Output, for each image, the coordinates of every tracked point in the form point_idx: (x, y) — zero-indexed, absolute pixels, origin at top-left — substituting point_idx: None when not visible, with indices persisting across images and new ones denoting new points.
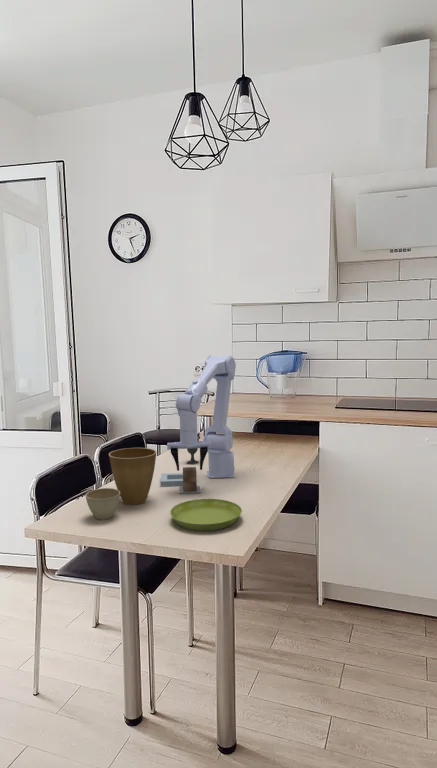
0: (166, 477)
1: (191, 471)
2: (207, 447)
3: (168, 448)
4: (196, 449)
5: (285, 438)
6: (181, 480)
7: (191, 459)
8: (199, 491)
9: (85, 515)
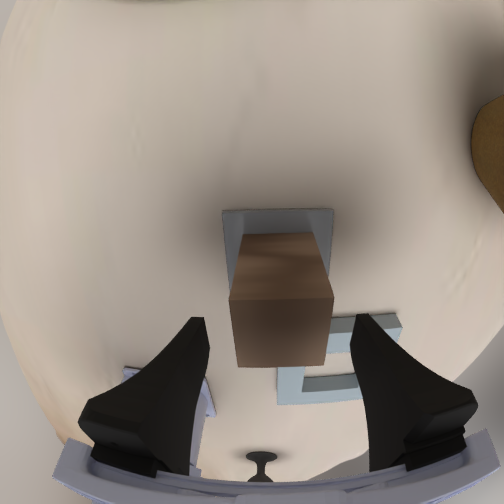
0: None
1: (267, 296)
2: (91, 453)
3: (484, 439)
4: None
5: None
6: None
7: (264, 463)
8: (228, 223)
9: None
